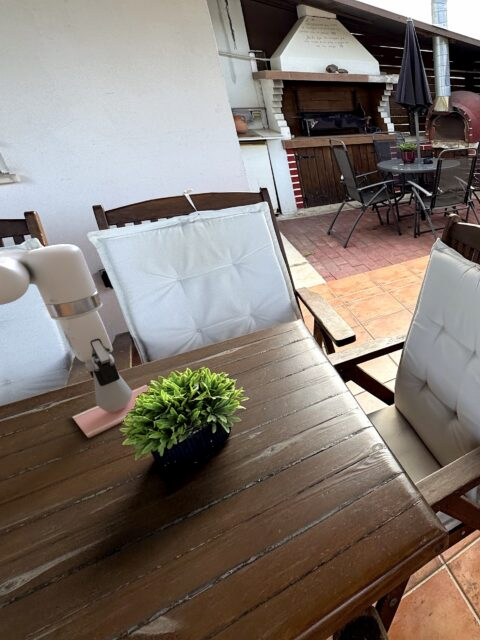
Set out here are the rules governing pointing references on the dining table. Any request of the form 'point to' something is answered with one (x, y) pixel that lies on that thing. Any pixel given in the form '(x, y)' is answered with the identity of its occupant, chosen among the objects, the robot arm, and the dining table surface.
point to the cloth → (104, 416)
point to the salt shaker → (111, 392)
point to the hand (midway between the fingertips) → (106, 377)
